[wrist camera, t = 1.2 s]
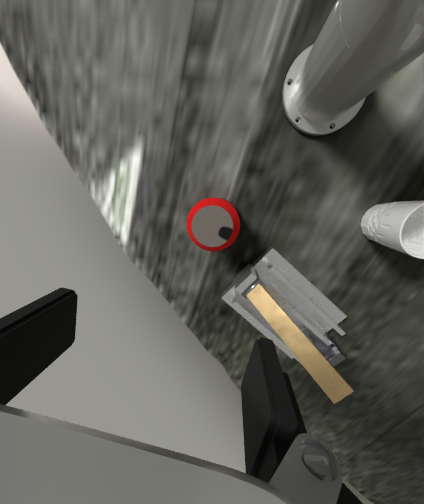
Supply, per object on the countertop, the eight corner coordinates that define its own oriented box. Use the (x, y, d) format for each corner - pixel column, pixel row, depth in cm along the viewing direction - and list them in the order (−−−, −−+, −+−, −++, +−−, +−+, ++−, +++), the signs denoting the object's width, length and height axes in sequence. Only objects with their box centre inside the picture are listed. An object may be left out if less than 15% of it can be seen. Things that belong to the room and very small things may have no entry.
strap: (259, 278, 35) (257, 277, 34) (356, 386, 26) (357, 389, 25) (243, 293, 36) (240, 293, 35) (331, 403, 27) (331, 406, 26)
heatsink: (266, 241, 40) (275, 252, 32) (345, 314, 42) (370, 340, 34) (217, 290, 43) (214, 310, 35) (292, 355, 45) (305, 387, 38)
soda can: (228, 244, 41) (226, 262, 29) (192, 228, 40) (176, 240, 29) (244, 208, 39) (250, 211, 27) (207, 191, 38) (196, 188, 27)
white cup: (357, 246, 38) (399, 263, 29) (356, 204, 37) (400, 205, 27) (403, 240, 37) (463, 254, 28) (405, 195, 35) (469, 194, 26)
